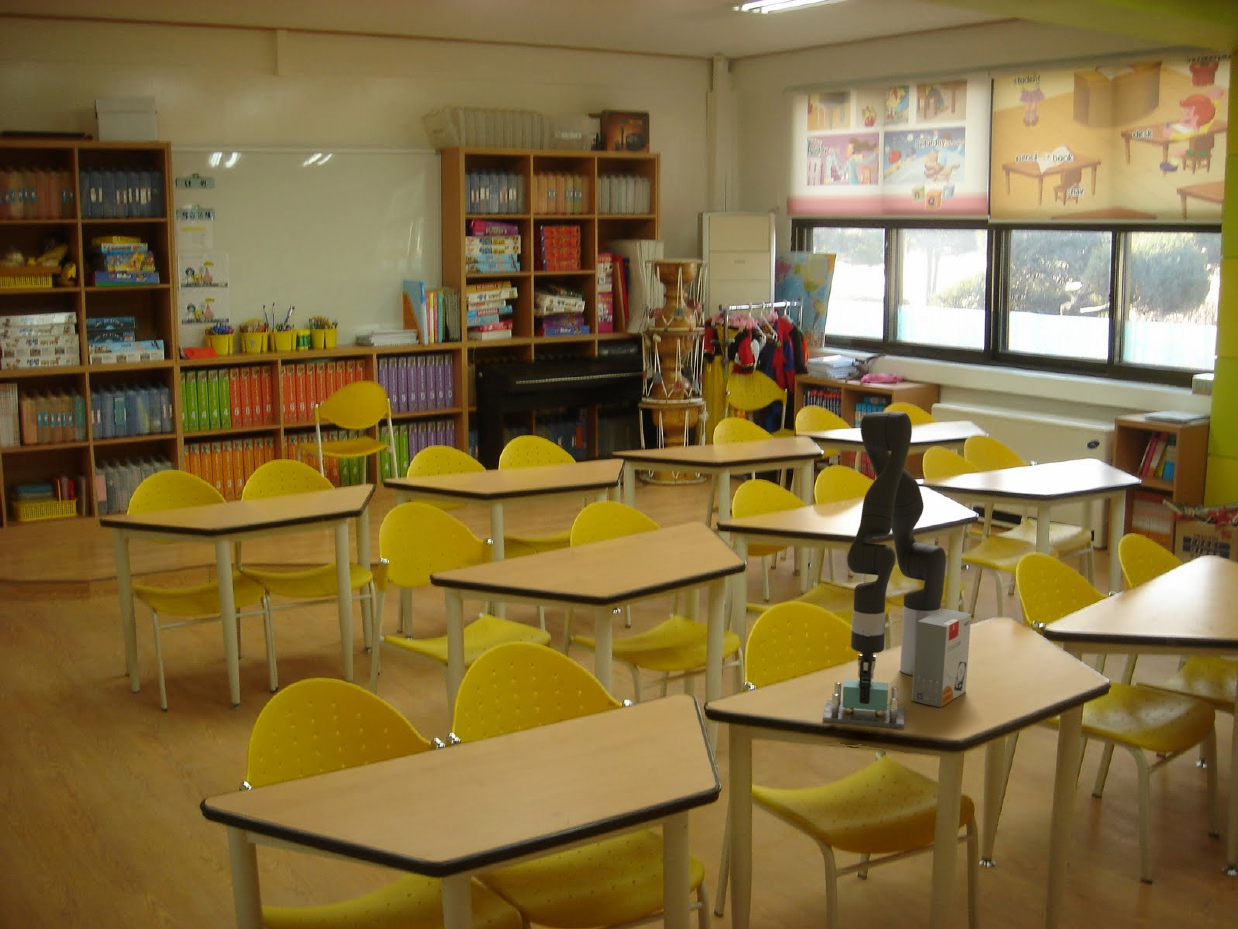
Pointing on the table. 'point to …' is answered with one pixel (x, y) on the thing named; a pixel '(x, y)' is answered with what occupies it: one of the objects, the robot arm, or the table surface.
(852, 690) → the green box
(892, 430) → the robot arm
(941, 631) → the hard drive box
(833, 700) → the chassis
